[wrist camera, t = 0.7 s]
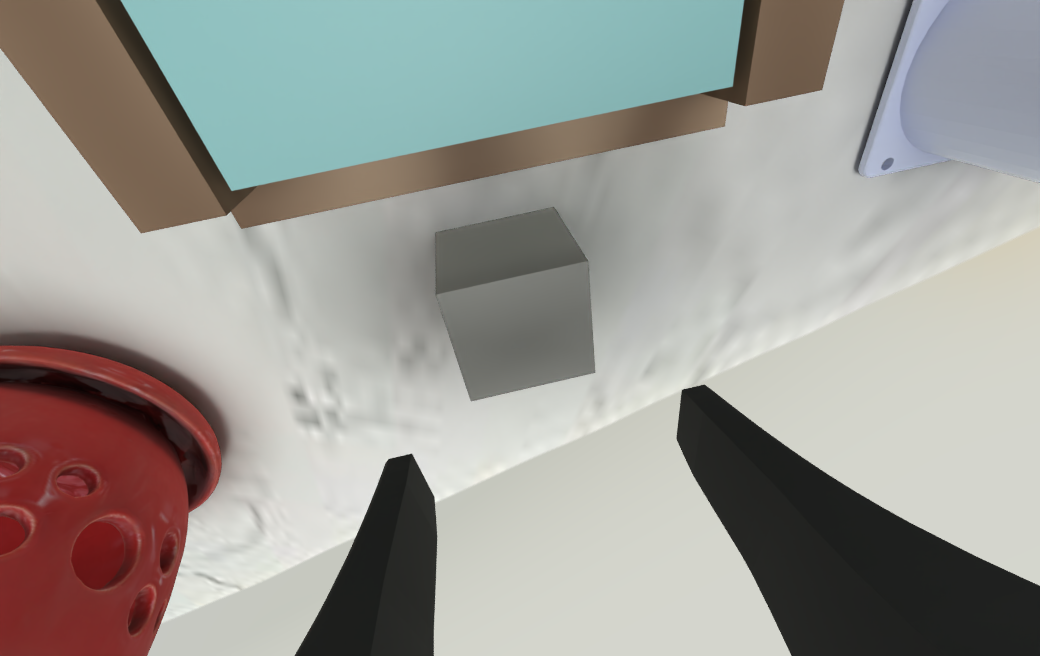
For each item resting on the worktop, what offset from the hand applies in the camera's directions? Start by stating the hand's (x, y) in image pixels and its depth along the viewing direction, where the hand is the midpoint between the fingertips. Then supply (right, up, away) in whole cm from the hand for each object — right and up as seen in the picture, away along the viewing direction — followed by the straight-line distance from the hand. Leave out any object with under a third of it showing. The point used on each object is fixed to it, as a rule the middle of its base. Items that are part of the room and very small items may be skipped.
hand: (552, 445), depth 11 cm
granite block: (-2, +6, +8) cm, 10 cm away
